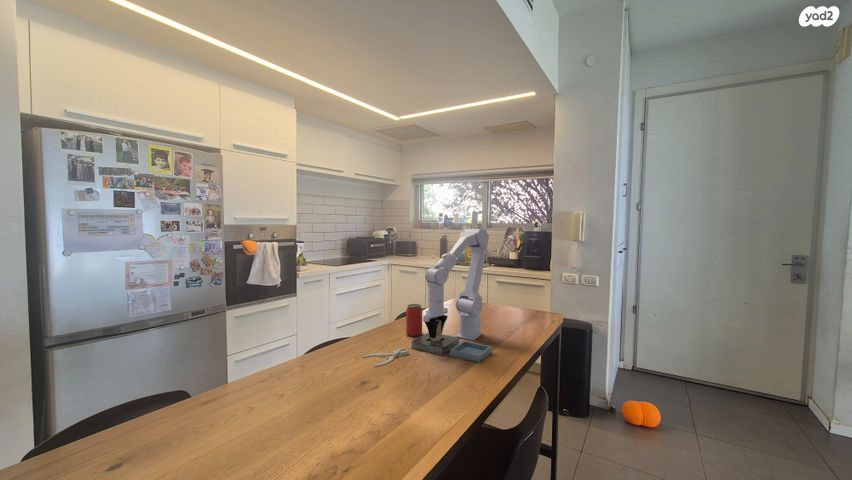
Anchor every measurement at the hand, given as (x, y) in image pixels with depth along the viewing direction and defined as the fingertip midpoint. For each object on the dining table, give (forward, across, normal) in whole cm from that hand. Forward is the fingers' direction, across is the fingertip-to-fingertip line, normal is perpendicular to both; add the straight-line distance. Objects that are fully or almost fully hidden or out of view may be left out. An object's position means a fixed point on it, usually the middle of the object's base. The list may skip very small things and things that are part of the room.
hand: (435, 336), depth 129 cm
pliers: (+4, +18, -8) cm, 20 cm away
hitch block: (+4, 0, 0) cm, 4 cm away
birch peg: (+3, 0, 0) cm, 3 cm away
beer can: (+4, -7, -14) cm, 17 cm away
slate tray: (+4, 0, +14) cm, 15 cm away
